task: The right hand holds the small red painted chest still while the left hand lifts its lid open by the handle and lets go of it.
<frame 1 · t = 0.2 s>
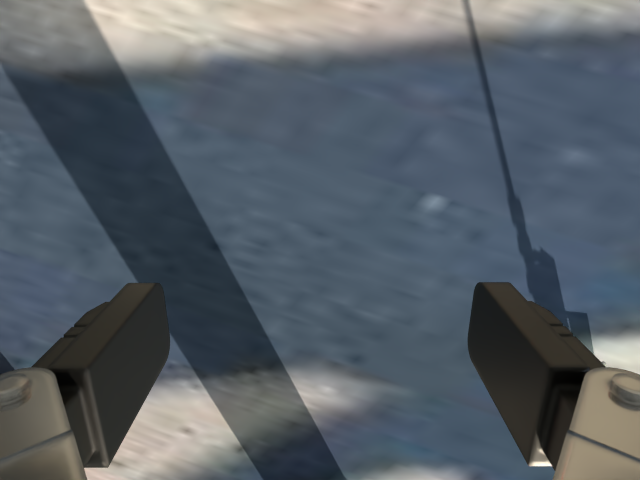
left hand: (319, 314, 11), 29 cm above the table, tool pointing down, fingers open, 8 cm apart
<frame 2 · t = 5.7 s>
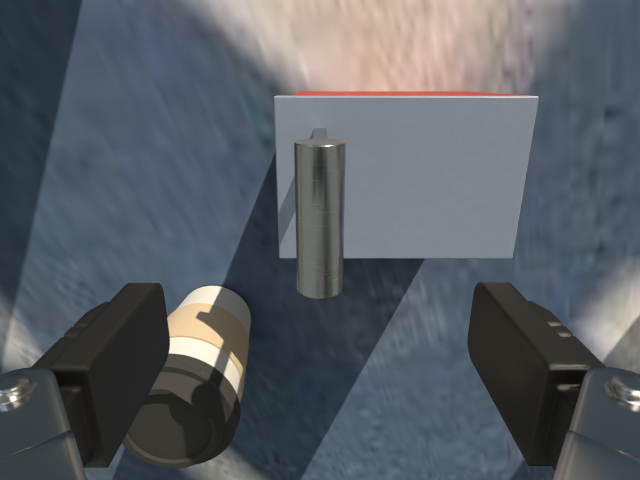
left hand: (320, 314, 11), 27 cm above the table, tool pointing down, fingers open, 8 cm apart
coffee cup: (216, 316, 42), on the table
chest: (380, 151, 37), on the table
lid: (412, 198, 22), point 16 cm above the table, hinge at 0.0°
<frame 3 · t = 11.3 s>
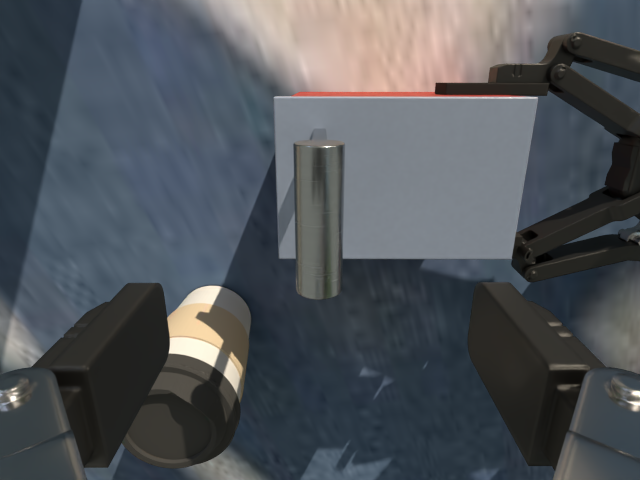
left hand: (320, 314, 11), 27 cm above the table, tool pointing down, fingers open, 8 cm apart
right hand: (433, 166, 31), fingers closed on chest, 10 cm apart
coffee cup: (216, 316, 42), on the table
chest: (380, 151, 37), on the table, touching right hand
lid: (412, 198, 22), point 16 cm above the table, hinge at 0.0°
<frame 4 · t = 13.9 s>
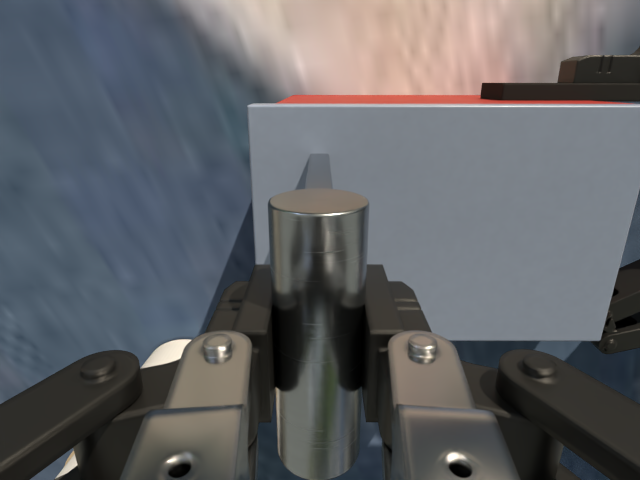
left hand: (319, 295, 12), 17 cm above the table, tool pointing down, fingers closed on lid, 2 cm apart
coffee cup: (190, 375, 34), on the table
chest: (398, 172, 28), on the table, touching right hand
lid: (470, 272, 14), point 16 cm above the table, hinge at 0.1°, touching left hand
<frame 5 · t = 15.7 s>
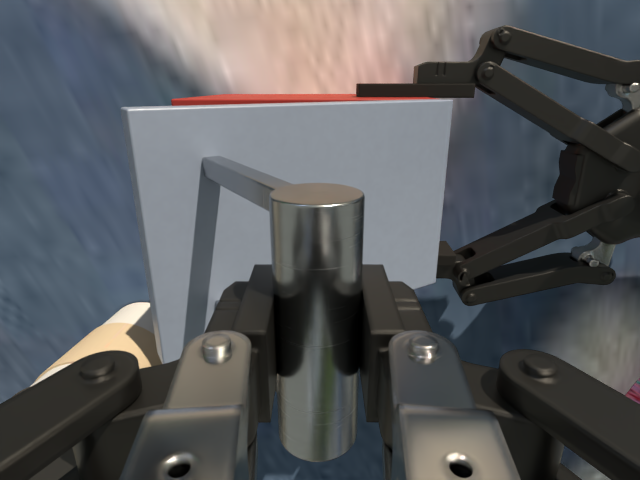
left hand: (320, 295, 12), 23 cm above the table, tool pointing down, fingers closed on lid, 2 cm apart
right hand: (355, 176, 28), fingers closed on chest, 10 cm apart
coffee cup: (149, 334, 40), on the table
chest: (314, 159, 34), on the table, touching right hand
lid: (375, 244, 16), point 19 cm above the table, hinge at 33.6°, touching left hand
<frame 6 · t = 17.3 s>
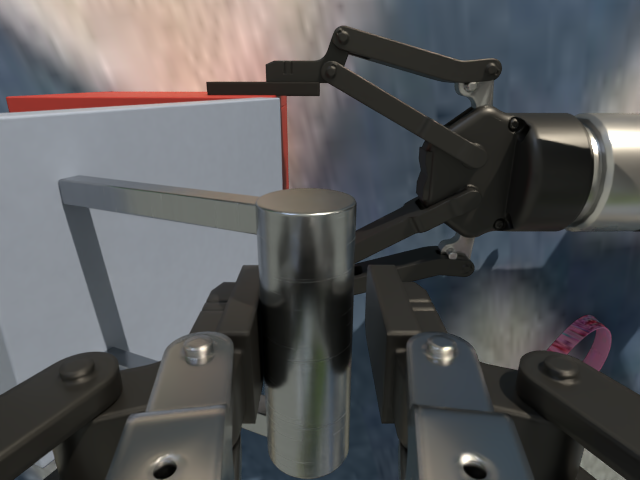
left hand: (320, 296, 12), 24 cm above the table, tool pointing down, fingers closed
right hand: (219, 173, 28), fingers closed on chest, 10 cm apart
chest: (201, 156, 34), on the table, touching right hand
lid: (271, 246, 16), point 20 cm above the table, hinge at 65.9°
headband: (557, 360, 41), on the table
when the right hand's fingers open (7 cm above the table, at t = 21.2 s): chest stays where it is, on the table.
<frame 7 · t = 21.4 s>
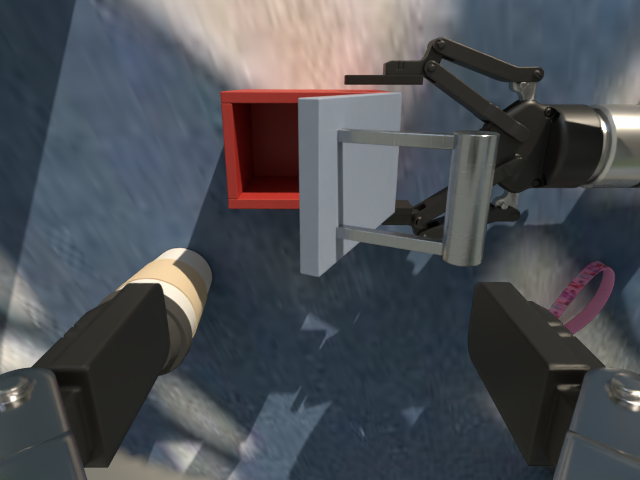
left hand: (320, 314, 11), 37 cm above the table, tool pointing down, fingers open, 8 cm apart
right hand: (343, 146, 40), fingers open, 11 cm apart
coffee cup: (183, 274, 52), on the table
chest: (310, 137, 46), on the table
lid: (419, 175, 28), point 20 cm above the table, hinge at 63.9°
headband: (573, 298, 53), on the table
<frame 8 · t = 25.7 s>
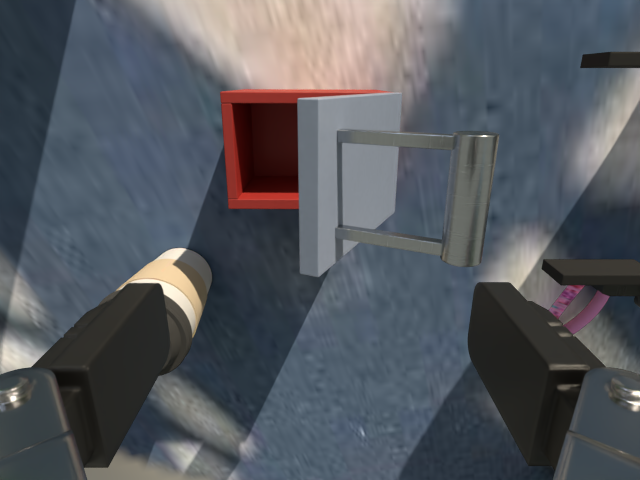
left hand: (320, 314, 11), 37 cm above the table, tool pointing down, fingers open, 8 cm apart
coffee cup: (183, 274, 52), on the table
chest: (310, 137, 46), on the table
lid: (418, 175, 27), point 20 cm above the table, hinge at 63.9°
headband: (573, 298, 53), on the table
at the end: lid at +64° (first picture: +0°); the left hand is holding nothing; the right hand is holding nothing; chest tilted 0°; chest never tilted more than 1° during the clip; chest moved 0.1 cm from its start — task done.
